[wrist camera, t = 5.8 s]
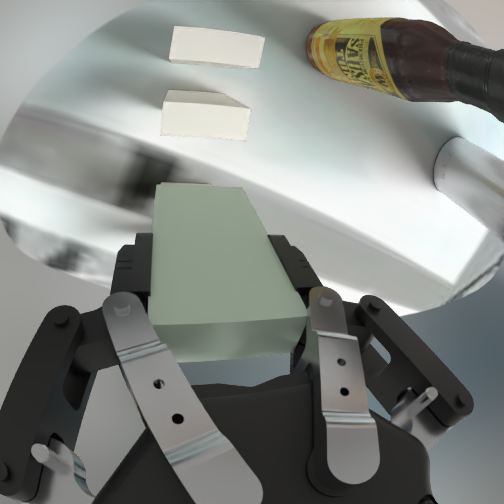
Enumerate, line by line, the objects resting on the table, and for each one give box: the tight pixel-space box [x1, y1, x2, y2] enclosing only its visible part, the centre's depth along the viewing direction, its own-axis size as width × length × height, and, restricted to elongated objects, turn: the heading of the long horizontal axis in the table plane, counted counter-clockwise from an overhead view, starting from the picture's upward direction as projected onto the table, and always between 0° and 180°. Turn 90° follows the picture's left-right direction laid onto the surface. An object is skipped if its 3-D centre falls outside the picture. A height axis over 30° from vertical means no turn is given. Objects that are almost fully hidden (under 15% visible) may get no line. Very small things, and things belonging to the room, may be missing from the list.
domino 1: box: [169, 26, 265, 69], centre depth 16 cm, size 5×2×10 cm, turn 80°
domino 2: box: [160, 90, 251, 141], centre depth 19 cm, size 5×2×10 cm, turn 80°
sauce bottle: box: [306, 18, 504, 123], centre depth 14 cm, size 7×6×20 cm
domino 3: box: [148, 185, 307, 362], centre depth 13 cm, size 5×2×10 cm, turn 80°
